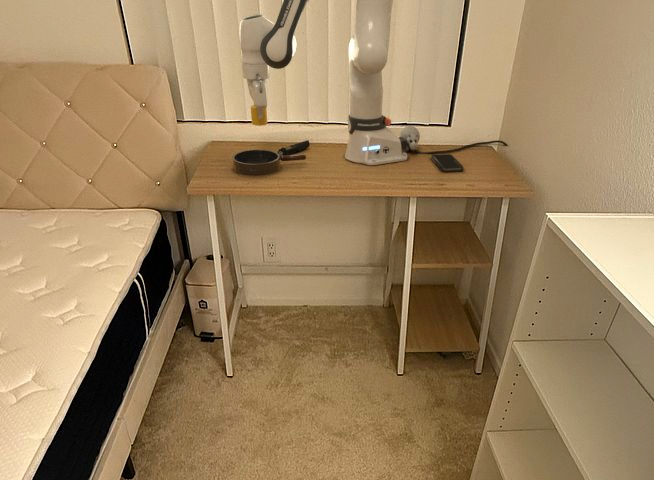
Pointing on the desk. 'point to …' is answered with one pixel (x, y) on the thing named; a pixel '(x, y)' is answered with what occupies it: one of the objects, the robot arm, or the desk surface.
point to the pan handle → (293, 157)
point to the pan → (256, 162)
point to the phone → (447, 163)
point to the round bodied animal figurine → (410, 137)
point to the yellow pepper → (255, 118)
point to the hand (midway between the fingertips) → (259, 115)
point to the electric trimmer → (293, 148)
